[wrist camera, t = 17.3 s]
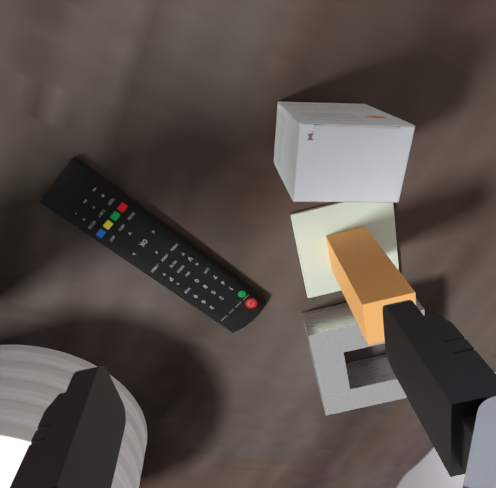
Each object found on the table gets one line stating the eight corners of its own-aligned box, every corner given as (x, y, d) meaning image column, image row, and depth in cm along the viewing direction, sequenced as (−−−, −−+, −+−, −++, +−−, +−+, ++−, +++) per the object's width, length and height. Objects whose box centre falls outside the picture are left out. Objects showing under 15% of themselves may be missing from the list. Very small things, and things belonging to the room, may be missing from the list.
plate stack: (188, 403, 52) (180, 493, 41) (89, 522, 61) (63, 620, 51) (-45, 303, 43) (-127, 386, 33) (-118, 459, 53) (-199, 561, 42)
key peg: (325, 235, 42) (362, 304, 31) (364, 226, 42) (415, 292, 31) (331, 269, 44) (367, 345, 33) (369, 260, 43) (418, 333, 33)
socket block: (318, 389, 52) (325, 415, 48) (301, 312, 46) (308, 335, 43) (414, 367, 51) (429, 392, 47) (408, 287, 46) (424, 309, 42)
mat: (307, 296, 45) (307, 298, 45) (289, 213, 41) (290, 215, 41) (398, 274, 45) (399, 276, 44) (390, 189, 40) (392, 190, 40)
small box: (272, 162, 39) (289, 203, 29) (276, 99, 36) (296, 121, 27) (357, 164, 39) (400, 205, 30) (367, 102, 37) (418, 125, 27)
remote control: (76, 154, 38) (71, 159, 36) (268, 297, 46) (269, 305, 45) (45, 196, 39) (40, 201, 38) (236, 327, 47) (236, 335, 46)
